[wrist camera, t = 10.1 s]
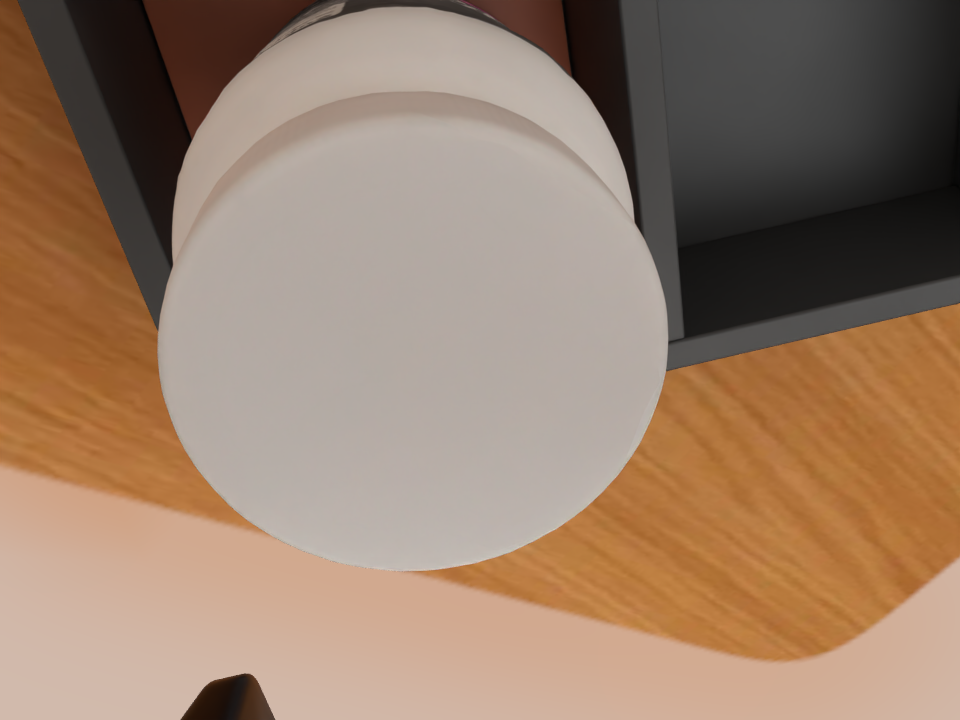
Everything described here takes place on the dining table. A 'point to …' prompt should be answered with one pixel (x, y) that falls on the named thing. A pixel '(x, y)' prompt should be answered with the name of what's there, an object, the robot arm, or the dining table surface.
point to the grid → (622, 141)
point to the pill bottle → (408, 290)
